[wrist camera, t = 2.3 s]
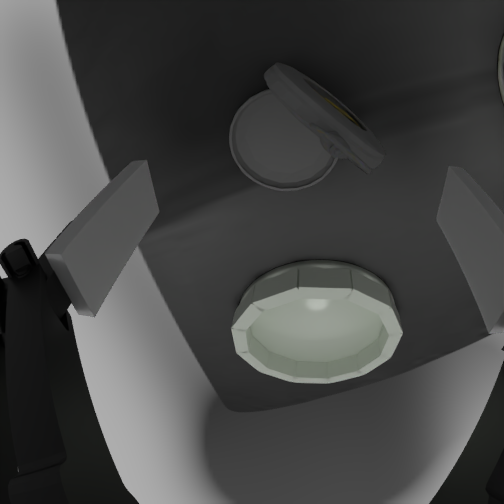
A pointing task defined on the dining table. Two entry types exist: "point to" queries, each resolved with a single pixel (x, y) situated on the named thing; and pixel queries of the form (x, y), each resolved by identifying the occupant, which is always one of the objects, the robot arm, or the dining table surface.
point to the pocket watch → (298, 133)
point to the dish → (316, 322)
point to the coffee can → (501, 69)
